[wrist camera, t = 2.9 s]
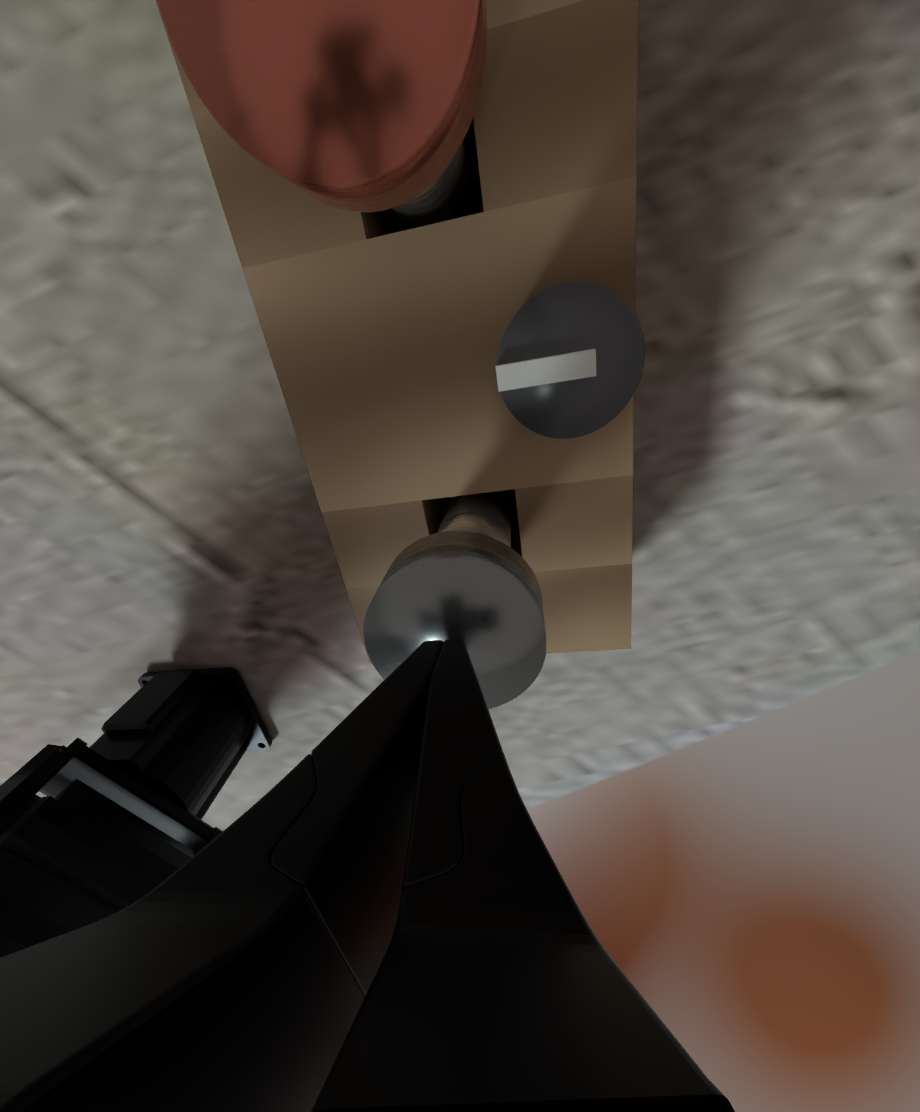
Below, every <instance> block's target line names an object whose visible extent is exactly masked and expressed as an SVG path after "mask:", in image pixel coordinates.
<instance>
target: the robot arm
mask: <svg viewBox="0 0 920 1112" xmlns="http://www.w3.org/2000/svg"><path fill="white" fill-rule="evenodd" d="M138 683H139V685H140V686H141V689H140V690H139V691H138V692H137V693H136V694H135V695H133V696H132V697H131V698H130V699H129V700H128V701H127V702H126V703H125V704H124V705H123V706H122V707H121V708H120V709H119V710H118V711H117V712H116V713H114V714H113V715H112V716H111V717H110V718H109V719H108V720H107V721H106V722H105V723H104V725H103V727H102V731H103V732H104V734H103V735H102V736H101V737H100V738H99V739H98V740H97V741H96V742H95V743H94V744H93V745H91V746H90V747H87V746H86V745H87V743H86V742H84V741H82V740H81V739H79V738H77V739H76V740H74V741H73V742H72V743H71V744H70V745H69V746H68V747H65V746H64V745H63V746H57V745H50V744H48V745H47V746H46V747H45V748H44V749H42V750H41V751H40V752H39V753H38V754H37V755H36V756H34V757H33V758H32V759H31V760H30V761H29V762H28V763H26V764H25V765H24V766H23V767H22V768H21V769H20V770H18V771H17V772H16V773H15V774H14V775H13V776H11V777H10V778H9V779H8V780H7V781H5V782H4V783H3V784H2V785H1V786H0V1112H735V1111H734V1109H733V1108H732V1106H731V1104H730V1102H729V1101H728V1099H727V1098H726V1097H725V1096H724V1095H723V1094H722V1093H721V1092H720V1091H719V1090H718V1089H717V1087H716V1086H715V1085H714V1084H713V1083H712V1082H711V1081H710V1080H709V1079H708V1078H707V1077H706V1075H705V1074H704V1073H703V1072H702V1070H701V1069H700V1068H699V1067H698V1065H697V1064H696V1063H695V1062H694V1060H693V1059H692V1058H691V1057H690V1055H689V1054H688V1053H687V1052H686V1050H685V1049H684V1048H683V1047H682V1045H681V1044H680V1043H679V1042H678V1040H677V1039H676V1038H675V1037H674V1036H673V1034H672V1033H671V1032H670V1030H669V1029H668V1028H667V1027H666V1025H665V1024H664V1023H663V1022H662V1021H661V1019H660V1018H659V1017H658V1015H657V1014H656V1013H655V1012H654V1010H653V1009H652V1008H651V1007H650V1006H649V1004H648V1003H647V1002H646V1000H645V999H644V998H643V997H642V995H641V994H640V993H639V992H638V991H637V989H636V988H635V987H634V986H633V984H632V983H631V982H630V981H629V979H628V978H627V977H626V976H625V974H624V973H623V972H622V971H621V970H620V968H619V967H618V966H617V964H616V963H615V962H614V961H613V959H612V958H611V957H610V956H609V955H608V953H607V952H606V950H605V949H604V948H603V946H602V945H601V943H600V942H599V940H598V939H597V937H596V936H595V934H594V933H593V931H592V929H591V928H590V926H589V924H588V923H587V921H586V919H585V918H584V916H583V914H582V913H581V911H580V909H579V908H578V906H577V904H576V902H575V900H574V898H573V897H572V895H571V893H570V891H569V889H568V887H567V886H566V883H565V882H564V880H563V878H562V876H561V874H560V872H559V871H558V868H557V867H556V865H555V863H554V861H553V860H552V857H551V856H550V854H549V852H548V850H547V848H546V846H545V844H544V842H543V840H542V838H541V837H540V835H539V833H538V831H537V829H536V827H535V825H534V823H533V822H532V819H531V817H530V815H529V813H528V811H527V809H526V807H525V805H524V803H523V801H522V799H521V797H520V795H519V792H518V790H517V787H516V785H515V782H514V780H513V777H512V775H511V772H510V770H509V767H508V764H507V761H506V758H505V755H504V753H503V752H502V747H501V745H500V742H499V739H498V736H497V733H496V730H495V727H494V725H493V722H492V719H491V716H490V713H489V710H488V707H487V705H486V702H485V699H484V696H483V693H482V690H481V687H480V685H479V682H478V679H477V676H476V673H475V670H474V667H473V665H472V662H471V659H470V656H469V653H468V650H467V647H466V645H465V642H464V640H463V639H448V640H445V641H444V642H443V641H442V640H432V641H425V642H423V643H422V644H421V645H420V646H419V647H418V648H417V649H416V650H415V651H414V652H413V653H412V654H411V655H410V656H409V657H407V658H406V659H405V660H404V661H403V662H402V663H401V664H400V665H399V666H398V667H397V668H396V669H395V670H394V671H393V672H392V673H391V674H390V675H389V676H388V677H387V678H386V679H385V680H384V681H383V682H382V683H381V684H380V685H379V686H378V687H377V688H376V689H375V690H374V691H373V692H372V693H371V694H370V695H369V696H368V697H367V698H366V699H365V700H364V701H363V702H362V703H360V704H359V705H358V706H357V707H356V708H355V709H354V710H353V711H352V712H351V713H350V714H349V715H348V716H347V717H346V718H345V719H344V720H343V721H342V722H341V723H340V724H339V725H338V726H337V727H336V728H335V729H334V730H333V731H332V732H331V733H330V734H329V735H328V736H327V737H326V738H325V739H324V740H323V741H322V742H321V743H320V744H319V745H318V746H317V747H316V748H315V749H313V750H312V755H311V754H309V755H307V756H306V757H305V758H304V759H303V760H302V761H301V762H300V763H299V764H298V765H297V766H296V767H295V768H294V769H293V770H292V771H291V772H290V773H289V774H288V775H286V776H285V777H284V778H283V779H282V780H281V781H280V782H279V783H278V784H277V785H276V786H275V787H274V788H273V789H272V790H270V791H269V792H268V793H267V794H266V795H265V796H264V797H263V798H261V799H260V800H259V801H258V802H257V803H256V804H255V805H253V806H252V807H251V808H250V809H249V810H248V811H247V812H245V813H244V814H243V815H242V816H241V817H240V818H238V819H237V820H236V821H235V822H234V823H233V824H231V825H230V826H229V827H228V828H227V829H225V830H224V831H221V830H220V829H218V828H217V827H215V828H213V827H211V826H210V825H208V824H207V823H205V822H204V821H202V820H201V819H202V818H203V816H204V815H205V813H206V812H207V810H208V809H209V807H210V805H211V804H212V802H213V801H214V799H215V798H216V796H217V795H218V793H219V791H220V790H221V788H222V787H223V785H224V784H225V782H226V781H227V779H228V778H229V776H230V774H231V773H232V771H233V770H234V768H235V767H236V765H237V764H238V762H239V760H240V759H241V757H242V756H243V754H244V753H245V751H267V750H268V749H269V748H270V746H271V744H272V739H271V737H270V735H269V733H268V731H267V729H266V727H265V725H264V723H263V721H262V719H261V717H260V715H259V713H258V711H257V709H256V707H255V705H254V703H253V701H252V699H251V697H250V695H249V693H248V691H247V689H246V687H245V685H244V683H243V681H242V679H241V677H240V675H239V673H238V672H237V671H236V670H234V669H232V668H216V669H198V670H180V671H163V672H147V673H144V674H143V675H142V676H141V677H140V678H139V679H138ZM38 791H40V792H41V793H43V794H45V795H46V797H42V798H41V797H39V796H37V795H35V794H36V793H37V792H38Z"/></svg>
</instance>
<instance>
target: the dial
mask: <svg viewBox="0 0 920 1112" xmlns="http://www.w3.org/2000/svg"><path fill="white" fill-rule="evenodd" d="M644 356H645V349H644V339H643V333H642V330H641V327H640V324H639V321H638V319H637V317H636V315H635V313H634V312H633V310H632V309H631V307H630V306H629V305H628V304H627V303H626V301H625V300H624V299H623V298H622V297H620V296H619V295H618V294H616V293H615V292H614V291H612V290H610V289H608V288H606V287H604V286H601V285H598V284H596V283H590V282H579V281H574V282H566V283H562V284H558V285H555V286H552V287H550V288H548V289H545V290H543V291H542V292H540V293H538V294H537V295H535V296H534V297H533V298H531V299H530V300H529V301H528V302H526V303H525V304H524V306H523V307H522V308H521V309H520V310H519V311H518V312H517V313H516V315H515V316H514V317H513V319H512V320H511V322H510V324H509V325H508V327H507V329H506V331H505V333H504V336H503V338H502V341H501V344H500V348H499V353H498V359H497V365H496V366H495V367H496V376H497V384H498V392H501V395H502V398H503V400H504V402H505V404H506V406H507V407H508V409H509V411H510V412H511V413H512V415H513V416H514V417H515V418H516V419H517V420H518V421H519V422H520V423H521V424H522V425H523V426H525V427H526V428H528V429H529V430H531V431H533V432H535V433H537V434H540V435H543V436H545V437H550V438H557V439H568V438H576V437H581V436H584V435H587V434H590V433H592V432H594V431H596V430H599V429H600V428H602V427H603V426H605V425H607V424H608V423H609V422H610V421H612V420H613V419H614V418H615V417H616V416H617V415H618V414H619V413H620V412H621V411H622V410H623V409H624V408H625V406H626V405H627V404H628V402H629V401H630V399H631V398H632V396H633V394H634V392H635V390H636V388H637V386H638V384H639V381H640V378H641V375H642V370H643V365H644Z"/></svg>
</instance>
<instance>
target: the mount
mask: <svg viewBox="0 0 920 1112" xmlns="http://www.w3.org/2000/svg"><path fill="white" fill-rule="evenodd" d="M156 2H157V5H158V8H159V12H160V15H161V18H162V21H163V24H164V27H165V30H166V33H167V36H168V39H169V42H170V46H171V49H172V52H173V55H174V58H175V61H176V64H177V67H178V70H179V73H180V77H181V80H182V83H183V86H184V89H185V92H186V95H187V98H188V101H189V104H190V107H191V111H192V114H193V117H194V120H195V123H196V126H197V129H198V132H199V135H200V138H201V142H202V145H203V148H204V151H205V154H206V157H207V160H208V163H209V166H210V169H211V172H212V176H213V179H214V182H215V185H216V188H217V191H218V194H219V197H220V200H221V203H222V207H223V210H224V213H225V216H226V219H227V222H228V225H229V228H230V231H231V234H232V237H233V241H234V244H235V247H236V250H237V253H238V256H239V259H240V262H241V265H242V268H243V272H244V275H245V278H246V281H247V284H248V287H249V290H250V293H251V296H252V299H253V303H254V306H255V309H256V312H257V315H258V318H259V321H260V324H261V327H262V330H263V333H264V337H265V340H266V343H267V346H268V349H269V352H270V355H271V358H272V361H273V364H274V368H275V371H276V374H277V377H278V380H279V383H280V386H281V389H282V392H283V395H284V398H285V402H286V405H287V408H288V411H289V414H290V417H291V420H292V423H293V426H294V429H295V433H296V436H297V439H298V442H299V445H300V448H301V451H302V454H303V457H304V460H305V463H306V467H307V470H308V473H309V476H310V479H311V482H312V485H313V488H314V491H315V494H316V498H317V501H318V504H319V507H320V510H321V513H322V516H323V519H324V522H325V525H326V528H327V532H328V535H329V538H330V541H331V544H332V547H333V550H334V553H335V556H336V559H337V563H338V566H339V569H340V572H341V575H342V578H343V581H344V584H345V587H346V590H347V593H348V597H349V600H350V603H351V606H352V609H353V612H354V615H355V618H356V621H357V624H358V628H359V631H360V634H361V637H362V640H363V643H364V646H365V642H364V634H363V627H364V619H365V615H366V612H367V609H368V607H369V605H370V602H371V601H372V599H373V597H374V595H375V593H376V591H377V589H378V588H379V586H380V584H381V582H382V580H383V578H384V576H385V575H386V573H387V571H388V569H389V567H390V566H391V564H392V562H393V561H394V559H395V558H396V557H397V556H398V555H399V554H400V552H402V551H403V550H404V549H405V548H406V547H407V546H409V545H410V544H412V543H414V542H415V541H417V540H419V539H421V538H423V537H426V536H429V535H432V534H435V533H437V532H438V530H439V527H440V525H441V522H442V520H443V517H444V514H445V512H446V509H447V507H448V505H449V503H450V502H451V497H454V496H462V495H470V494H479V493H487V492H495V491H503V490H512V489H515V495H516V504H517V513H518V518H517V519H511V548H512V549H513V550H514V551H516V552H517V553H518V554H519V555H520V556H521V557H522V558H523V559H524V560H525V561H526V562H527V563H528V565H529V566H530V568H531V569H532V570H533V572H534V574H535V576H536V578H537V580H538V583H539V586H540V589H541V595H542V602H543V612H544V621H545V631H546V653H561V652H579V651H597V650H615V649H631V603H632V517H633V432H634V394H633V396H632V398H631V399H630V401H629V402H628V404H627V405H626V406H625V408H624V409H623V410H622V411H621V412H620V413H619V414H618V415H617V416H616V417H615V418H614V419H613V420H612V421H610V422H609V423H608V424H607V425H605V426H603V427H602V428H600V429H599V430H596V431H594V432H592V433H590V434H587V435H584V436H581V437H576V438H568V439H557V438H550V437H545V436H543V435H540V434H537V433H535V432H533V431H531V430H529V429H528V428H526V427H525V426H523V425H522V424H521V423H520V422H519V421H518V420H517V419H516V418H515V417H514V416H513V415H512V413H511V412H510V411H509V409H508V407H507V406H506V404H505V402H504V400H503V398H502V395H501V392H498V384H497V376H496V367H495V366H496V365H497V359H498V353H499V348H500V344H501V341H502V338H503V336H504V333H505V331H506V329H507V327H508V325H509V324H510V322H511V320H512V319H513V317H514V316H515V315H516V313H517V312H518V311H519V310H520V309H521V308H522V307H523V306H524V304H525V303H526V302H528V301H529V300H530V299H531V298H533V297H534V296H535V295H537V294H538V293H540V292H542V291H543V290H545V289H548V288H550V287H552V286H555V285H558V284H562V283H566V282H574V281H579V282H590V283H596V284H598V285H601V286H604V287H606V288H608V289H610V290H612V291H614V292H615V293H616V294H618V295H619V296H620V297H622V298H623V299H624V300H625V301H626V303H627V304H628V305H629V306H630V307H631V309H632V310H633V312H634V313H635V262H636V176H637V91H638V6H639V0H486V12H487V51H486V62H485V69H484V77H483V83H482V87H481V91H480V95H479V100H478V104H477V107H476V110H475V113H474V116H473V119H472V122H471V125H470V127H469V129H468V131H467V133H466V135H465V138H466V137H470V136H474V135H475V138H476V147H477V156H478V165H479V174H480V183H481V192H482V201H483V210H484V212H481V213H477V214H473V215H469V216H464V217H460V218H456V219H452V220H447V221H443V222H439V223H434V224H430V225H426V226H422V227H417V228H413V229H409V230H404V231H402V225H401V220H400V216H399V215H397V214H396V213H395V212H394V211H393V210H392V209H391V208H390V209H387V210H383V211H376V212H352V211H347V210H341V209H338V208H335V207H333V206H330V205H327V204H325V203H323V202H321V201H319V200H317V199H315V198H313V197H312V196H310V195H309V194H307V193H306V192H304V191H303V190H301V189H300V188H298V187H297V186H295V185H294V184H292V183H291V182H290V181H288V180H287V179H285V178H284V177H282V176H281V175H279V174H278V173H276V172H275V171H273V170H272V169H270V168H269V167H267V166H266V165H264V164H263V163H262V162H260V161H259V160H257V159H256V158H255V157H253V156H252V155H250V154H249V153H248V152H246V151H245V150H244V149H243V148H242V147H241V146H240V145H239V144H238V143H237V142H235V141H234V140H233V139H232V138H231V137H230V136H229V135H228V134H227V132H226V131H225V130H224V129H223V128H222V127H221V126H220V124H219V123H218V122H217V121H216V120H215V119H214V117H213V116H212V115H211V113H210V112H209V110H208V109H207V107H206V106H205V105H204V103H203V102H202V100H201V99H200V98H199V96H198V94H197V92H196V91H195V89H194V87H193V86H192V84H191V82H190V80H189V79H188V77H187V75H186V73H185V71H184V69H183V67H182V65H181V63H180V60H179V58H178V56H177V54H176V52H175V50H174V48H173V45H172V42H171V39H170V37H169V34H168V31H167V29H166V26H165V23H164V20H163V17H162V14H161V10H160V7H159V3H158V0H156ZM365 649H366V647H365ZM366 652H367V650H366ZM367 655H368V653H367ZM368 659H369V662H370V663H372V662H371V660H370V658H369V655H368Z"/></svg>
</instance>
